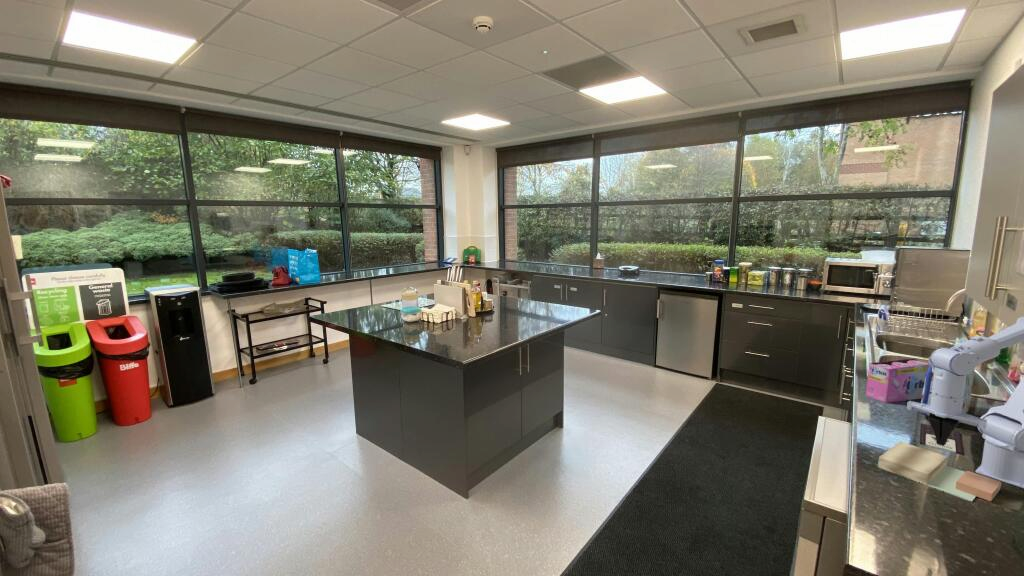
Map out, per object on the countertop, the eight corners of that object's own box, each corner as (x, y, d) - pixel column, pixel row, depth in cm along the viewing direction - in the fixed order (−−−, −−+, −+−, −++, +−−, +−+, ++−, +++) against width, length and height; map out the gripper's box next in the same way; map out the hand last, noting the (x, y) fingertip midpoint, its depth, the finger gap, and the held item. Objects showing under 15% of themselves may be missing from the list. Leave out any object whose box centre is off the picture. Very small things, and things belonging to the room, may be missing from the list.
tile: (967, 470, 110) (966, 477, 110) (956, 481, 105) (955, 488, 106) (1001, 481, 105) (1000, 489, 105) (991, 493, 100) (990, 501, 101)
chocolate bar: (959, 431, 134) (962, 453, 122) (959, 434, 135) (962, 456, 122) (920, 423, 141) (919, 442, 128) (920, 425, 141) (919, 445, 128)
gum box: (911, 389, 171) (914, 357, 169) (934, 397, 163) (938, 363, 162) (864, 395, 166) (868, 362, 164) (886, 403, 158) (890, 369, 157)
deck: (946, 466, 116) (947, 456, 116) (926, 485, 108) (928, 474, 107) (899, 451, 124) (900, 441, 124) (877, 467, 116) (878, 457, 116)
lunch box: (932, 399, 161) (939, 344, 158) (972, 408, 153) (980, 350, 150) (915, 419, 145) (922, 357, 142) (958, 430, 137) (966, 365, 134)
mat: (989, 481, 109) (989, 479, 109) (971, 502, 101) (971, 500, 101) (946, 466, 116) (946, 465, 116) (926, 485, 108) (926, 484, 108)
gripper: (904, 389, 113) (899, 436, 115) (984, 407, 101) (976, 460, 102) (914, 384, 117) (909, 430, 118) (991, 401, 104) (984, 452, 106)
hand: (941, 443), depth 111 cm, fingers closed
